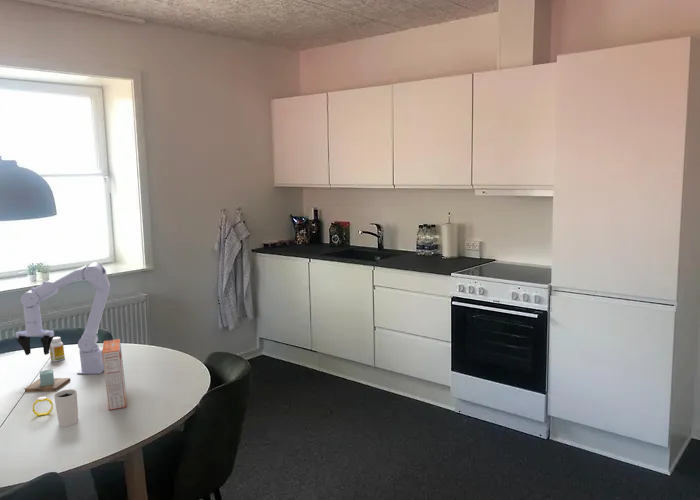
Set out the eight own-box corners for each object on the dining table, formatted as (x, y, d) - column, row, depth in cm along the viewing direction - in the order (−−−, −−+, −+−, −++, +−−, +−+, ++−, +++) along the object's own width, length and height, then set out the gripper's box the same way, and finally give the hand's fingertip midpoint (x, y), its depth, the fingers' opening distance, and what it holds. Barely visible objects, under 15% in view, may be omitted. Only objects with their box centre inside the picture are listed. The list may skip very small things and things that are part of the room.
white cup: (54, 422, 191) (50, 393, 189) (75, 416, 195) (72, 387, 194) (61, 429, 186) (58, 399, 184) (83, 422, 190) (79, 393, 189)
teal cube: (54, 380, 225) (52, 369, 224) (54, 383, 221) (53, 372, 221) (40, 382, 223) (39, 371, 222) (41, 386, 219) (39, 375, 218)
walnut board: (70, 381, 227) (69, 378, 227) (56, 391, 217) (55, 388, 217) (40, 381, 228) (40, 378, 228) (24, 391, 218) (24, 388, 218)
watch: (33, 418, 195) (31, 401, 194) (33, 415, 197) (31, 398, 196) (53, 414, 197) (51, 397, 196) (53, 411, 200) (51, 394, 199)
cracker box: (108, 395, 211) (102, 340, 208) (126, 393, 213) (121, 338, 210) (107, 411, 198) (101, 352, 195) (126, 408, 200) (120, 349, 197)
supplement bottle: (67, 357, 255) (64, 336, 254) (60, 361, 250) (57, 339, 248) (55, 357, 256) (53, 336, 254) (48, 361, 250) (45, 340, 249)
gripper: (56, 317, 233) (60, 350, 235) (21, 318, 233) (25, 351, 236) (46, 322, 226) (50, 356, 228) (10, 323, 227) (15, 357, 229)
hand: (37, 354), depth 231 cm, fingers open, 7 cm apart
